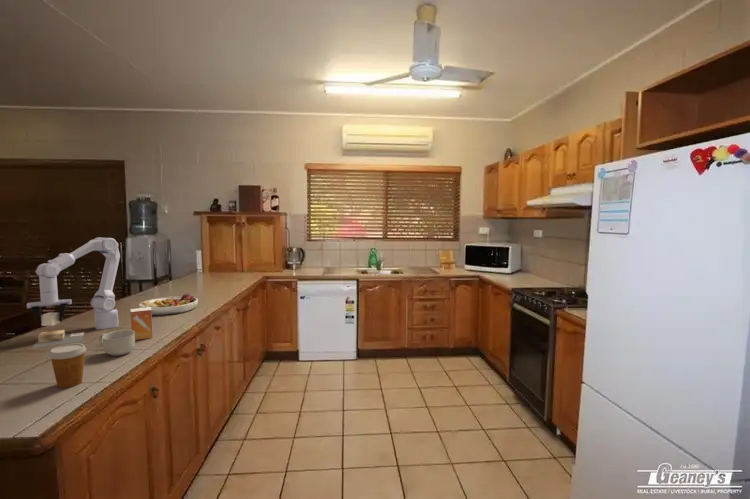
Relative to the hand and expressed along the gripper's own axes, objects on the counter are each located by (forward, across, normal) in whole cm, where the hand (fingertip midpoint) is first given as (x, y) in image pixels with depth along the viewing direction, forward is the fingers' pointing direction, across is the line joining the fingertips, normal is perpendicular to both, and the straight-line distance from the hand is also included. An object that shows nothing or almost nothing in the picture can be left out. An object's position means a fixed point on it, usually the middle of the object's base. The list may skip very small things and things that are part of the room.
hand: (51, 322), depth 165 cm
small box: (+9, -33, +15) cm, 37 cm away
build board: (+8, -3, +2) cm, 9 cm away
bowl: (+9, -49, -37) cm, 62 cm away
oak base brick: (+8, 0, 0) cm, 8 cm away
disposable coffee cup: (+9, -11, +57) cm, 59 cm away
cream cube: (+1, 0, 0) cm, 1 cm away
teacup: (+9, -23, +32) cm, 40 cm away
